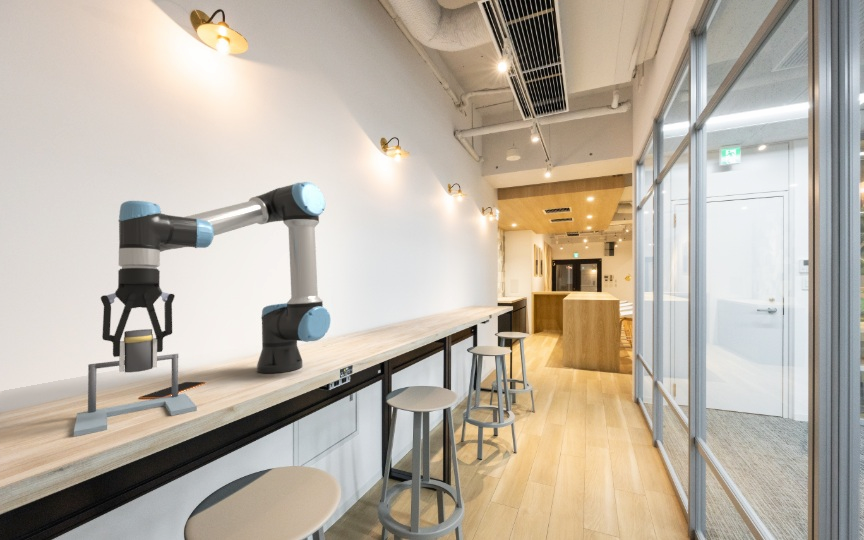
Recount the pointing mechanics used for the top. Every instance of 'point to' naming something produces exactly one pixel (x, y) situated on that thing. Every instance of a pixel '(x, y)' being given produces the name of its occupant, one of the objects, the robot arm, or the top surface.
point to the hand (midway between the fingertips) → (138, 368)
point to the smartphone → (168, 391)
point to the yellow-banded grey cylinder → (138, 350)
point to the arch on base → (98, 418)
